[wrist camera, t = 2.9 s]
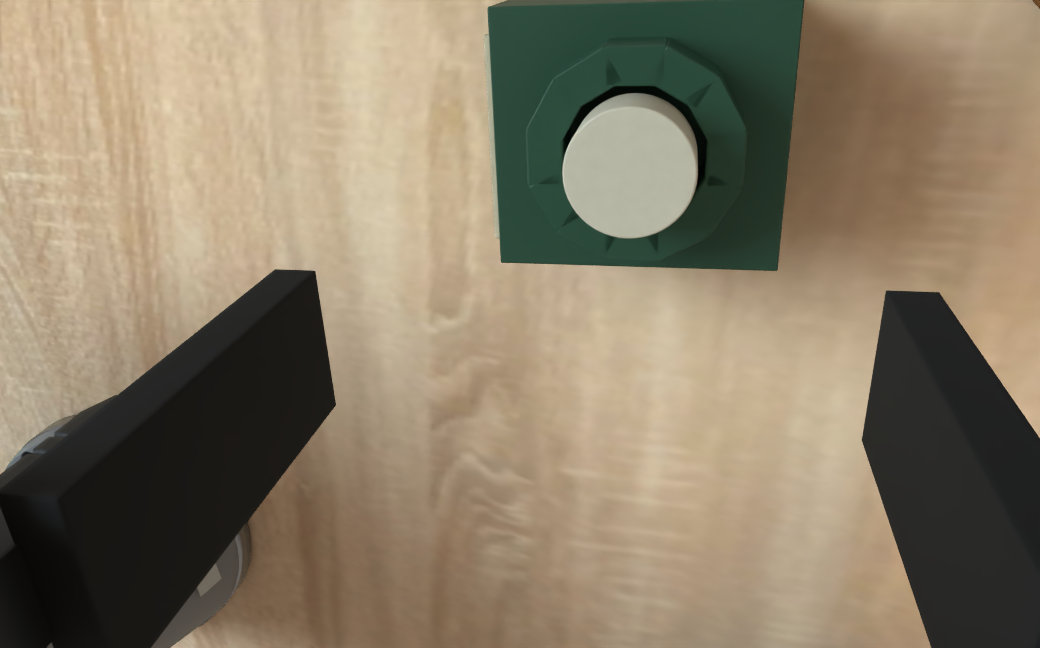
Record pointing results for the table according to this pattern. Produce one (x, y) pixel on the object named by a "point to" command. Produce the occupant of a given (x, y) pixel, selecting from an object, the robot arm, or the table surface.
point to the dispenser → (659, 72)
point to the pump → (631, 166)
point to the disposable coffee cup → (1037, 2)
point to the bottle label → (491, 134)
